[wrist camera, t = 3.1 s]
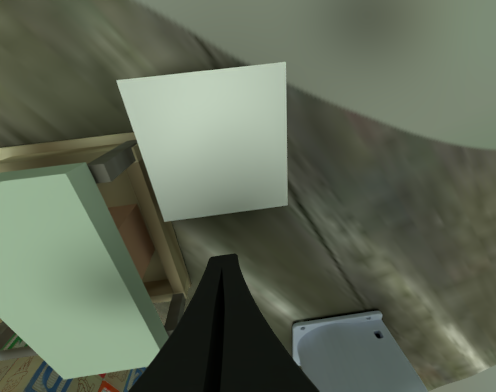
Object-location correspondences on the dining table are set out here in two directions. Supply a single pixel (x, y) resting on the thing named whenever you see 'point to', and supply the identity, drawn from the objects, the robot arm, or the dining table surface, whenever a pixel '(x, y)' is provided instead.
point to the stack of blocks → (57, 376)
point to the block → (134, 235)
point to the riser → (212, 138)
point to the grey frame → (114, 194)
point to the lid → (71, 275)
